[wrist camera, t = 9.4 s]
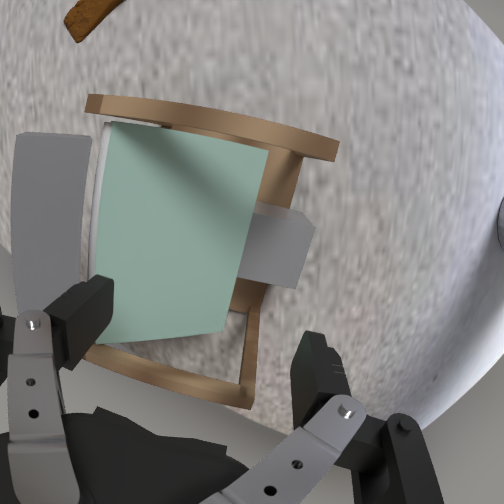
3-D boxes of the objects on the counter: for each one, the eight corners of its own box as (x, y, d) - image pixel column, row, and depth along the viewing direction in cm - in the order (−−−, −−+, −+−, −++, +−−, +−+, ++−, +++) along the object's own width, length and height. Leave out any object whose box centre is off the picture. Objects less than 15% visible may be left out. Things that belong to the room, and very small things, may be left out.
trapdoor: (252, 146, 21) (278, 153, 18) (211, 317, 25) (229, 338, 23) (28, 114, 12) (20, 114, 10) (28, 328, 16) (27, 357, 14)
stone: (246, 198, 26) (302, 212, 26) (232, 252, 27) (286, 264, 28) (247, 210, 21) (315, 227, 22) (231, 275, 23) (295, 289, 23)
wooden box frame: (305, 145, 25) (339, 141, 13) (258, 313, 30) (250, 410, 18) (166, 114, 25) (88, 93, 12) (138, 281, 30) (74, 355, 18)
